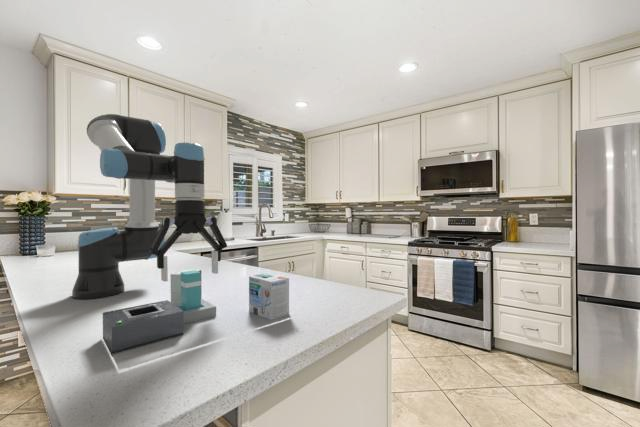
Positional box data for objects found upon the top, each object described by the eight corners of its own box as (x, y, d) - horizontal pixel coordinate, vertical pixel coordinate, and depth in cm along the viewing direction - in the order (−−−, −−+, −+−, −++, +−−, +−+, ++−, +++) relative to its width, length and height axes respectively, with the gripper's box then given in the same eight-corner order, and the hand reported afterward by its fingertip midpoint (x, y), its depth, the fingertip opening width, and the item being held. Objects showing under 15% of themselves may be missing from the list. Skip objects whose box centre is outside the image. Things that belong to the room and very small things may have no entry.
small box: (186, 309, 90) (186, 274, 90) (170, 308, 91) (169, 274, 91) (202, 301, 97) (202, 269, 97) (186, 300, 99) (186, 269, 98)
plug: (180, 315, 83) (180, 272, 83) (195, 311, 86) (195, 270, 86) (186, 319, 80) (185, 274, 80) (201, 315, 83) (201, 272, 83)
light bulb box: (248, 313, 87) (247, 275, 86) (267, 307, 92) (266, 272, 91) (271, 322, 79) (270, 281, 79) (290, 315, 84) (290, 277, 84)
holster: (166, 316, 84) (166, 306, 83) (201, 308, 90) (201, 298, 90) (178, 327, 76) (178, 315, 76) (216, 317, 83) (216, 306, 83)
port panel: (102, 338, 70) (102, 310, 70) (167, 322, 79) (167, 298, 79) (112, 356, 61) (111, 325, 61) (183, 336, 70) (183, 309, 70)
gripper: (142, 198, 72) (143, 286, 72) (237, 200, 89) (238, 271, 89) (135, 199, 77) (136, 281, 77) (226, 201, 94) (227, 268, 94)
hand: (191, 276), depth 83 cm, fingers open, 13 cm apart
